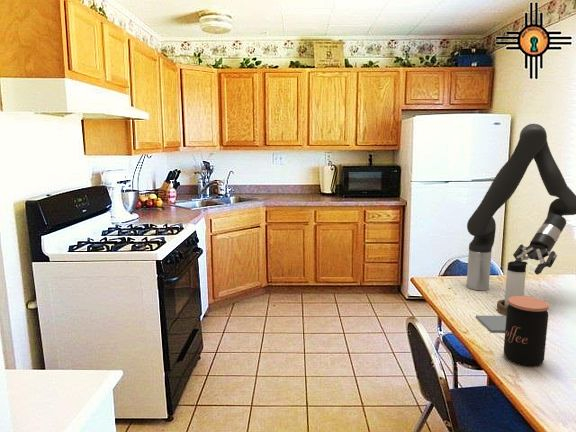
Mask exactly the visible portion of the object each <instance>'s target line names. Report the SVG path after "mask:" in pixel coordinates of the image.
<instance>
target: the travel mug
mask: <svg viewBox="0 0 576 432" xmlns="http://www.w3.org/2000/svg"><path fill="white" fill-rule="evenodd" d="M527 265H528V262H527V261H526V260H523V261H515V260H512V261H509V262H507V269H506V270H507V271H506V277H505V278H506V279H505V291H504V299H505V303H504V306H506V307H507V306H508V305H509V303H508V298H509V297H512V296H525V286H526V283H525V282H526V273H527Z"/></svg>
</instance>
